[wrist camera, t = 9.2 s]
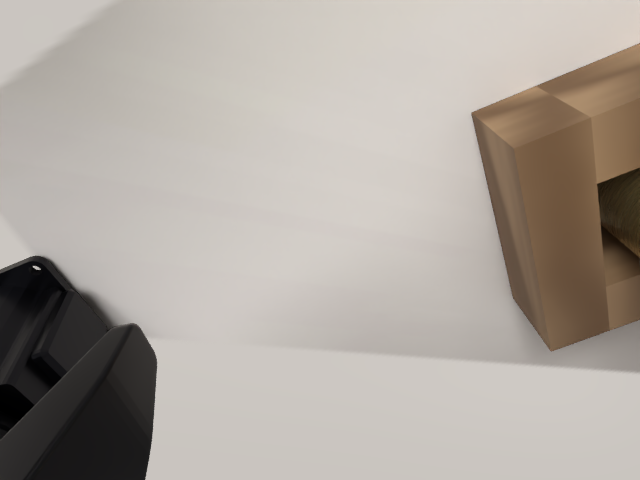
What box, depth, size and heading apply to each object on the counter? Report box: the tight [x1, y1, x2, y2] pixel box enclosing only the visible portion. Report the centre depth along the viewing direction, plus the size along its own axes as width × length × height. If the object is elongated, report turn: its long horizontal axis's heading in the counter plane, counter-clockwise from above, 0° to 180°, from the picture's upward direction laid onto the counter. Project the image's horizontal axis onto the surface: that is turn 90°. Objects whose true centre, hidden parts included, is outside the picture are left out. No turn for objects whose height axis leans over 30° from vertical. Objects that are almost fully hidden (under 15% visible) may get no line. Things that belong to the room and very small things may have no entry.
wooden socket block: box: [472, 43, 640, 351], centre depth 22 cm, size 11×11×4 cm
